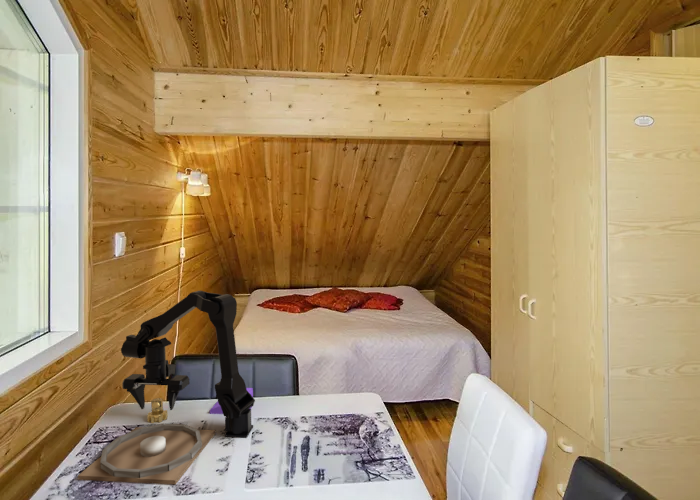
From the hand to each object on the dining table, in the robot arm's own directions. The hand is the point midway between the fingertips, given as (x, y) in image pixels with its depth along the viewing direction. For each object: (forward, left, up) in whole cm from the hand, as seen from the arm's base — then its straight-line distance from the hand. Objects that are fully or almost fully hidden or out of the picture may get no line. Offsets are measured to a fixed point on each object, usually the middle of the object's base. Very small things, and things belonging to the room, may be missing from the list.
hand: (157, 409), depth 134 cm
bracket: (-20, -8, -4) cm, 22 cm away
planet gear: (0, 0, -3) cm, 3 cm away
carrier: (-9, +19, -3) cm, 22 cm away
